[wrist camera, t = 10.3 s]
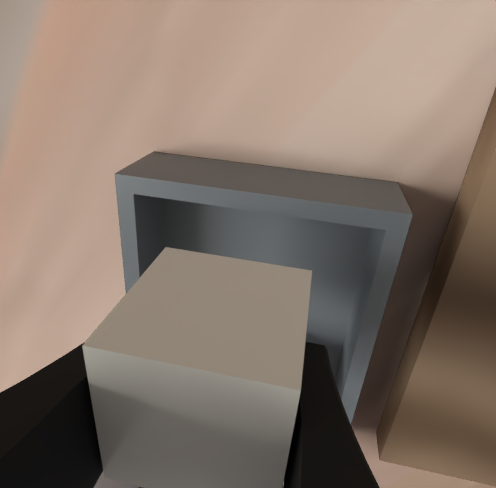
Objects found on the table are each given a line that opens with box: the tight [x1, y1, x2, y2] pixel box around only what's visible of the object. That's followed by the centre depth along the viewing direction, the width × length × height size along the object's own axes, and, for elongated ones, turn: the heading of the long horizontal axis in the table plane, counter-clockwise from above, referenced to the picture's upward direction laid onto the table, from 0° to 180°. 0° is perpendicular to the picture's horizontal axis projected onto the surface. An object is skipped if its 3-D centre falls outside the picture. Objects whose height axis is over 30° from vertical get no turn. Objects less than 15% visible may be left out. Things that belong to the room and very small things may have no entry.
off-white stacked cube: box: [82, 247, 312, 488], centre depth 9 cm, size 4×4×4 cm
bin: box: [115, 152, 413, 424], centre depth 16 cm, size 13×9×3 cm
